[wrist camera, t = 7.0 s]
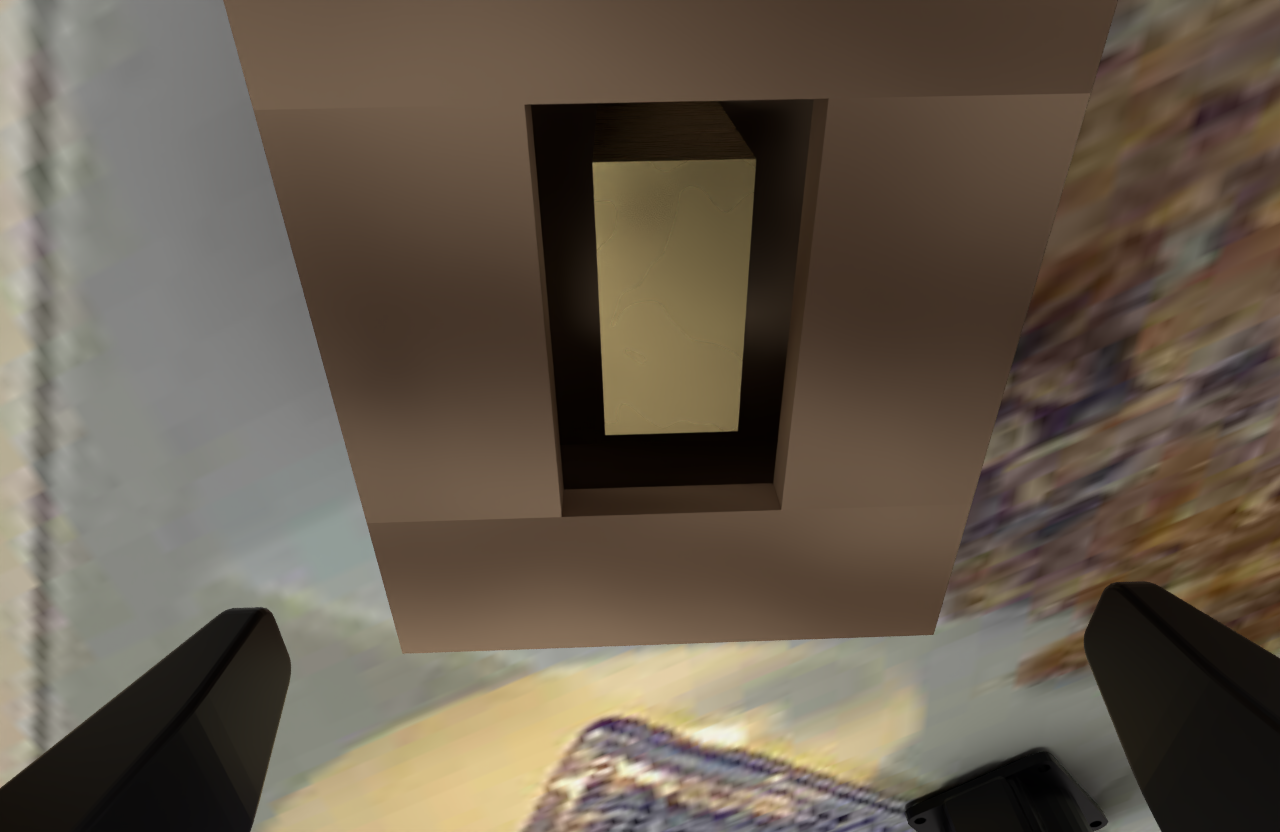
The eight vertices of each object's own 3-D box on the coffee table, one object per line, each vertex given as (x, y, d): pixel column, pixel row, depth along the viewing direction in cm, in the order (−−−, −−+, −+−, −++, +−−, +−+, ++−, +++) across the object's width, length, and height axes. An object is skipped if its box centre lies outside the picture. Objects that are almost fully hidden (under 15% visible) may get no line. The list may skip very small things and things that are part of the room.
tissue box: (844, 443, 21) (933, 634, 16) (460, 455, 21) (402, 653, 15) (945, -174, 14) (1192, -257, 8) (351, -167, 14) (154, -247, 8)
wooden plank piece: (708, 318, 18) (737, 431, 14) (606, 320, 18) (605, 435, 14) (716, 99, 16) (756, 158, 11) (597, 102, 16) (591, 162, 11)
